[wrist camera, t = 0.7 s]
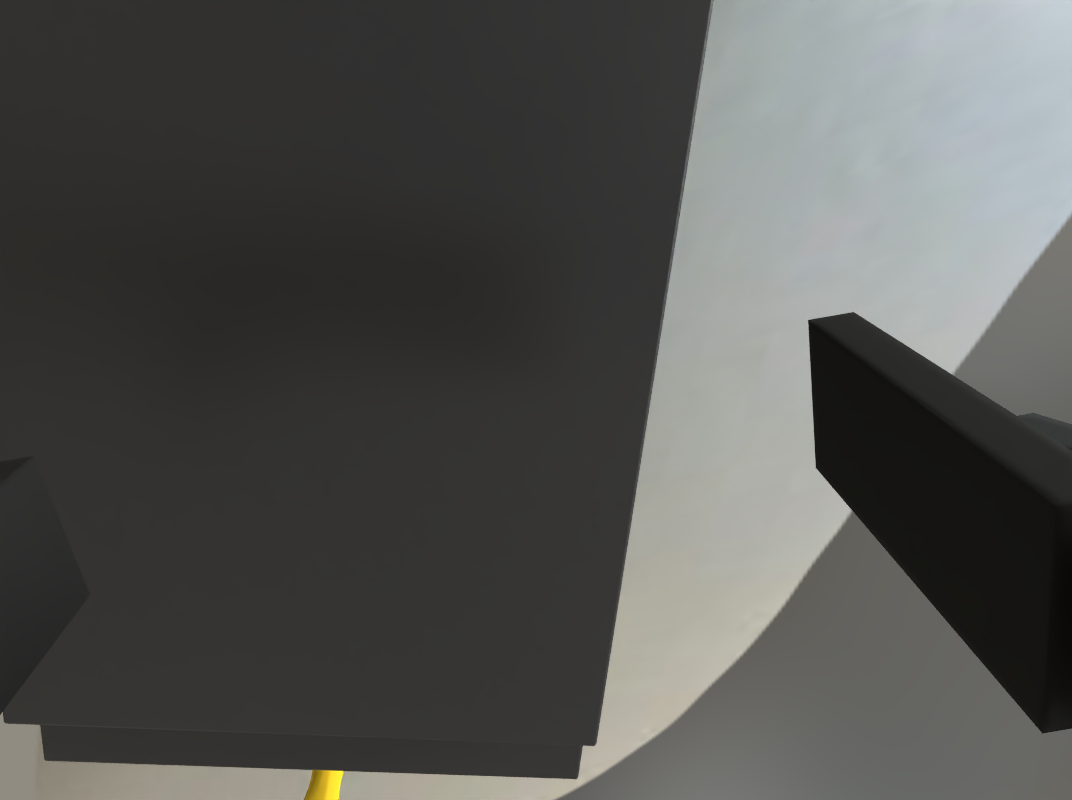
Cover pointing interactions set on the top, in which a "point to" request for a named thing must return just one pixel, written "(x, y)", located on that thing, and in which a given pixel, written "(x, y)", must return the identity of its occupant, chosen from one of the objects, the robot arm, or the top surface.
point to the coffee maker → (337, 365)
